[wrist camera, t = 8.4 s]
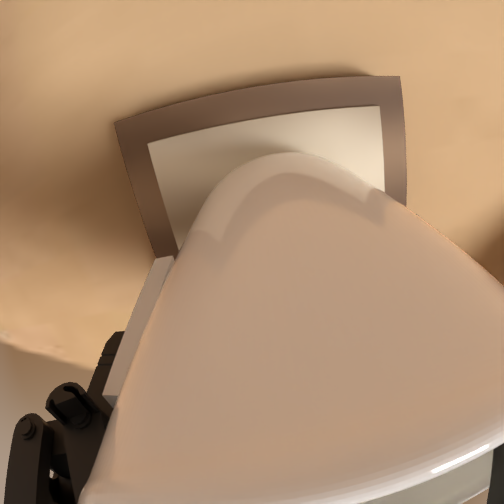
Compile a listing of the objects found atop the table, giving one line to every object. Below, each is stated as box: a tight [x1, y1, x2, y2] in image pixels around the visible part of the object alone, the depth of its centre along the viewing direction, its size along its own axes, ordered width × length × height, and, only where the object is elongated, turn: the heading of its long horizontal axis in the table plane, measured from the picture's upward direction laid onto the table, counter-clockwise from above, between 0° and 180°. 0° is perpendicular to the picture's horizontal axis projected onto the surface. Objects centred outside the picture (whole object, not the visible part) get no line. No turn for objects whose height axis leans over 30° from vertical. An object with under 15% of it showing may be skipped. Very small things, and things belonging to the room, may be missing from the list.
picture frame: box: [114, 76, 407, 261], centre depth 17 cm, size 14×14×3 cm
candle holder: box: [78, 152, 504, 504], centre depth 9 cm, size 10×10×12 cm
